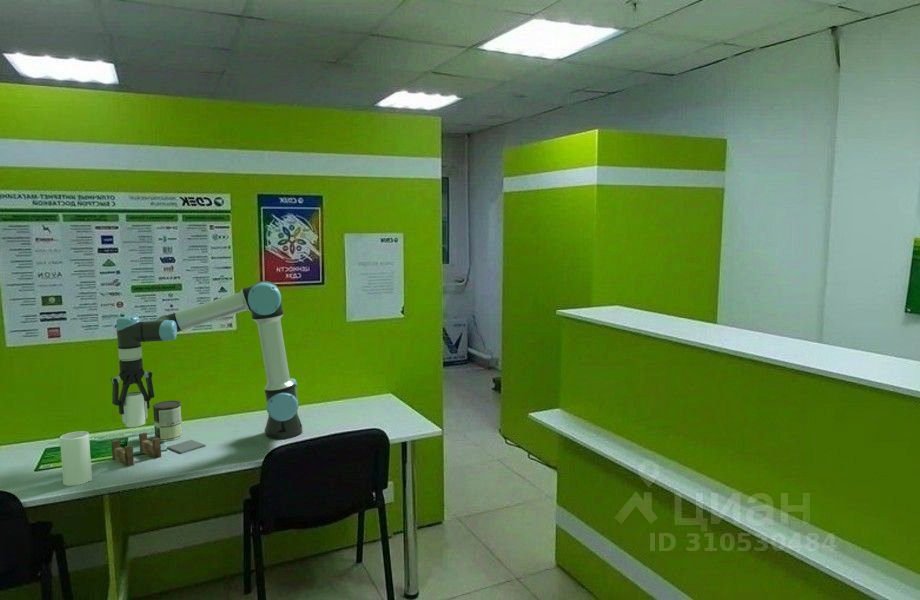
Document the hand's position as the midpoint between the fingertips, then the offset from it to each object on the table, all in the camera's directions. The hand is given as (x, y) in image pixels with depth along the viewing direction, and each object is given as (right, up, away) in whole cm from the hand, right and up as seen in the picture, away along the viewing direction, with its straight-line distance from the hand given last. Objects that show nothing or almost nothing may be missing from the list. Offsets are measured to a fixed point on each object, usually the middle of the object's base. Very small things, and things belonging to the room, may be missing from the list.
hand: (135, 419), depth 223 cm
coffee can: (+1, -12, +24) cm, 27 cm away
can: (0, -2, 0) cm, 2 cm away
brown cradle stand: (0, -14, +2) cm, 15 cm away
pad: (+13, -13, +13) cm, 23 cm away
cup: (-9, -17, -19) cm, 27 cm away
